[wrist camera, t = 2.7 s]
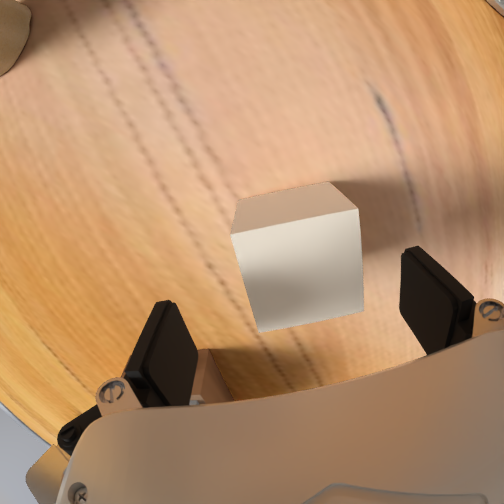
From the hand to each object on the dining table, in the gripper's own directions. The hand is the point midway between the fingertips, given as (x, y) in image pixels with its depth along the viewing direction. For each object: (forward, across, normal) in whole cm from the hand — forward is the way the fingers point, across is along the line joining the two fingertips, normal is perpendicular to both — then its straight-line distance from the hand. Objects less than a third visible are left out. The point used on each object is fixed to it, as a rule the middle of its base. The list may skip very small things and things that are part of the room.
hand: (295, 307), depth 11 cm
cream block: (+6, -1, -1) cm, 6 cm away
